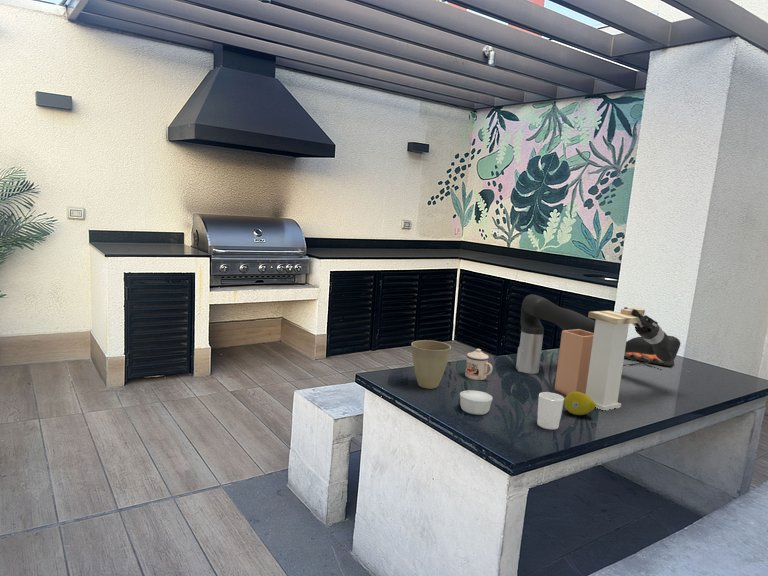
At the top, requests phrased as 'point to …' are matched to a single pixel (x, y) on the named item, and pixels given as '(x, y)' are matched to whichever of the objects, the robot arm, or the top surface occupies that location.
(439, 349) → the plant pot
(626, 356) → the sushi plate
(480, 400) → the ramekin
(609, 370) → the pedestal
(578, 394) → the lemon
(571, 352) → the tall open box
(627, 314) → the tan t-shaped block
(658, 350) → the robot arm
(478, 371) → the teacup with lid
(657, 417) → the top surface
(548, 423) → the white cup
